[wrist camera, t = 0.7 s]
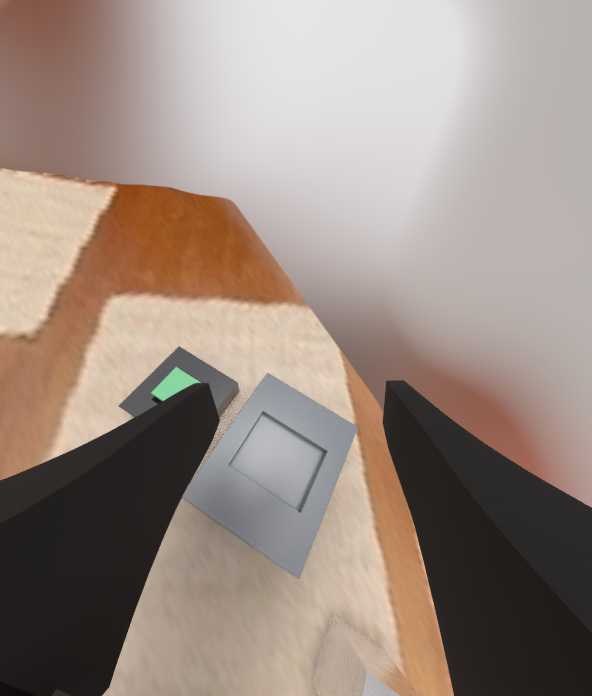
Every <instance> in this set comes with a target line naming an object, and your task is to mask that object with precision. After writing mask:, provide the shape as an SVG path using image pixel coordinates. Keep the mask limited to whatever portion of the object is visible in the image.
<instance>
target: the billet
mask: <svg viewBox="0 0 592 696" xmlns="http://www.w3.org/2000/svg"><path fill="white" fill-rule="evenodd" d="M312 680H313V684H314V687H315V690H316V693H317V696H419V695H418V693H417V692H416V691H415V689H414V688H413V687H412V685H411V684H410V683H409V682H408V680H407V679H406V678H405V676H404V675H403V674H402V672H401V671H400V670H399V669H398V667H397V666H396V665H395V663H394V662H393V661H392V659H391V658H390V657H389V656H388V654H387V653H386V652H385V650H384V649H383V648H381V647H380V646H378V645H377V644H375V643H374V642H373V641H371V640H370V639H368V638H367V637H366V636H364V635H363V634H361V633H360V632H358V631H357V630H356V629H354V628H353V627H351V626H350V625H349V624H347V623H346V622H344V621H343V620H341V619H340V618H339V617H337V616H336V615H334V614H333V613H332V616H331V619H330V622H329V625H328V629H327V632H326V635H325V638H324V642H323V645H322V648H321V651H320V654H319V658H318V661H317V664H316V667H315V671H314V674H313V677H312Z"/></svg>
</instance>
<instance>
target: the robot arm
mask: <svg viewBox="0 0 592 696" xmlns="http://www.w3.org/2000/svg"><path fill="white" fill-rule="evenodd" d="M219 421H220V418H219V415H218V412H217V409H216V405H215V402H214V399H213V396H212V392H211V389H210V386H209V383H194V384H192V385H190V386H188V387H186V388H184V389H183V390H181V391H179V392H177V393H176V394H174V395H172V396H170V397H169V398H167V399H165V400H164V401H162V402H160V403H159V404H157V405H155V406H154V407H152V408H150V409H149V410H147V411H145V412H144V413H142V414H140V415H138V416H137V417H135V418H133V419H131V420H129V421H128V422H126V423H124V424H122V425H121V426H119V427H117V428H115V429H113V430H112V431H110V432H108V433H106V434H104V435H102V436H100V437H98V438H96V439H94V440H92V441H90V442H88V443H86V444H84V445H82V446H80V447H78V448H76V449H74V450H71V451H69V452H67V453H65V454H63V455H60V456H58V457H56V458H53V459H51V460H49V461H47V462H44V463H42V464H40V465H37V466H35V467H33V468H30V469H28V470H26V471H23V472H21V473H19V474H16V475H14V476H11V477H8V478H6V479H3V480H1V481H0V696H102V695H103V694H104V693H105V691H106V690H107V689H108V688H109V686H110V683H111V680H112V677H113V674H114V670H115V667H116V664H117V661H118V658H119V655H120V653H121V650H122V647H123V644H124V641H125V638H126V635H127V632H128V629H129V626H130V623H131V620H132V617H133V615H134V612H135V609H136V607H137V604H138V601H139V599H140V596H141V593H142V591H143V588H144V585H145V582H146V580H147V577H148V574H149V572H150V569H151V567H152V565H153V562H154V560H155V557H156V555H157V552H158V550H159V547H160V545H161V542H162V540H163V538H164V535H165V533H166V531H167V528H168V526H169V524H170V521H171V519H172V517H173V515H174V512H175V510H176V508H177V506H178V504H179V502H180V500H181V498H182V496H183V494H184V492H185V490H186V489H187V487H188V485H189V483H190V481H191V479H192V478H193V476H194V474H195V472H196V470H197V469H198V467H199V465H200V463H201V461H202V459H203V457H204V456H205V454H206V452H207V450H208V448H209V446H210V444H211V442H212V440H213V437H214V435H215V432H216V430H217V427H218V424H219ZM383 425H384V430H385V435H386V440H387V444H388V448H389V451H390V454H391V457H392V460H393V463H394V466H395V469H396V472H397V475H398V478H399V481H400V483H401V486H402V489H403V492H404V495H405V498H406V501H407V504H408V507H409V509H410V512H411V516H412V519H413V522H414V526H415V529H416V533H417V537H418V541H419V545H420V549H421V553H422V557H423V561H424V565H425V569H426V573H427V577H428V581H429V585H430V590H431V594H432V598H433V602H434V606H435V611H436V615H437V619H438V624H439V628H440V633H441V637H442V642H443V646H444V651H445V655H446V659H447V664H448V668H449V673H450V678H451V683H452V687H453V692H454V696H592V508H591V507H589V506H588V505H585V504H584V503H582V502H581V501H579V500H577V499H575V498H574V497H572V496H570V495H568V494H566V493H565V492H563V491H561V490H559V489H558V488H556V487H554V486H552V485H550V484H549V483H547V482H545V481H543V480H542V479H540V478H539V477H537V476H535V475H533V474H532V473H530V472H528V471H527V470H525V469H523V468H522V467H520V466H519V465H517V464H516V463H514V462H513V461H511V460H509V459H508V458H506V457H505V456H503V455H501V454H500V453H498V452H497V451H495V450H494V449H492V448H491V447H489V446H488V445H486V444H485V443H483V442H482V441H480V440H479V439H478V438H476V437H475V436H473V435H472V434H471V433H469V432H468V431H466V430H465V429H464V428H462V427H461V426H460V425H458V424H457V423H456V422H454V421H453V420H452V419H450V418H449V417H448V416H446V415H445V414H444V413H443V412H441V411H440V410H439V409H438V408H436V407H435V406H434V405H433V404H431V403H430V402H429V401H428V400H427V399H425V398H424V397H423V396H422V395H421V394H419V393H418V392H417V391H416V390H415V389H413V388H412V387H411V386H410V385H408V384H407V383H406V382H405V381H386V392H385V403H384V415H383Z"/></svg>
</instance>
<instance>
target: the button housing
mask: <svg viewBox="0 0 592 696" xmlns="http://www.w3.org/2000/svg"><path fill="white" fill-rule="evenodd" d="M176 367H177V368H179V369H180V370H182V371H184V372H185V373H187V374H188V375H190V376H191V377H193V378H195V379H196V380H198V381H199V382H201V383H209V386H210V389H211V392H212V396H213V399H214V402H215V405H216V409H217V412H218V415H219V417H220V416H221V415H222V413H223V412H224V411H225V409H226V408H227V406H228V405H229V404H230V402H231V401H232V400H233V398H234V397H235V396H236V394H237V393H238V392H239V389H238V383H237V382H236V381H234V380H233V379H231V378H229V377H228V376H226V375H224V374H223V373H221V372H220V371H218V370H216V369H215V368H213V367H212V366H210V365H208V364H207V363H205V362H203V361H202V360H200V359H199V358H197V357H195V356H194V355H192V354H191V353H189V352H187V351H186V350H184V349H182V348H181V347H178V348H177V349H176V350H175V351H174V352H173V353H172V354H171V355H170V356H169V357H168V358H167V359H166V360H165V361H164V362H163V363H162V364H161V365H160V366H159V367H158V368H157V369H156V370H155V371H154V372H153V373H152V374H151V375H150V376H148V377H147V378H146V379H145V380H144V381H143V382H142V383H141V384H140V385H139V386H138V387H137V388H136V389H135V390H134V391H133V392H132V393H131V394H130V395H129V396H128V397H127V398H126V399H125V400H124V401H123V402H122V403H121V404H120V405H119V407H121V408H122V409H124V410H125V411H126V412H128V413H129V414H131V415H132V416H134V417H137V416H138V415H140V414H142V413H144V412H145V411H147V410H149V409H150V408H152V407H154V406H155V405H157V404H159V403H160V402H162V401H161V400H159V399H158V398H157V397H155V396H154V395H153V394H152V393H151V392H152V391H153V390H154V389H155V388H156V387H157V386H158V385H159V384H160V383H161V382H162V381H163V380H164V379H165V378H166V377H167V376H168V375H169V374H170V373H171V372H172V371H173V370H174V369H175V368H176Z"/></svg>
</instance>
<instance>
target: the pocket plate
mask: <svg viewBox="0 0 592 696" xmlns="http://www.w3.org/2000/svg"><path fill="white" fill-rule="evenodd" d="M357 428H358V427H357V426H355V425H354V424H352V423H350V422H349V421H347V420H345V419H344V418H342V417H340V416H339V415H337V414H335V413H334V412H332V411H330V410H329V409H327V408H325V407H324V406H322V405H320V404H319V403H317V402H315V401H314V400H312V399H310V398H309V397H307V396H306V395H304V394H302V393H301V392H299V391H297V390H296V389H294V388H292V387H291V386H289V385H287V384H286V383H284V382H282V381H281V380H279V379H277V378H276V377H274V376H272V375H271V374H269V373H267V374H266V375H265V377H264V378H263V380H262V381H261V383H260V384H259V385H258V387H257V388H256V390H255V391H254V393H253V394H252V395H251V397H250V398H249V400H248V401H247V403H246V404H245V405H244V407H243V408H242V410H241V411H240V413H239V414H238V416H237V417H236V418H235V420H234V421H233V423H232V424H231V426H230V427H229V428H228V430H227V431H226V433H225V434H224V436H223V437H222V438H221V440H220V441H219V443H218V444H217V446H216V447H215V448H214V450H213V451H212V453H211V454H210V456H209V457H208V459H207V460H206V461H205V463H204V464H203V466H202V467H201V469H200V470H199V471H198V473H197V474H196V476H195V477H194V479H193V480H192V481H191V483H190V484H189V486H188V487H187V489H186V490H185V492H184V494H183V496H182V498H183V499H185V500H186V501H188V502H189V503H190V504H192V505H193V506H195V507H196V508H198V509H199V510H200V511H202V512H203V513H205V514H206V515H208V516H209V517H210V518H212V519H213V520H215V521H216V522H218V523H219V524H220V525H222V526H223V527H225V528H226V529H228V530H229V531H230V532H232V533H233V534H235V535H236V536H238V537H239V538H240V539H242V540H243V541H245V542H246V543H248V544H249V545H250V546H252V547H253V548H255V549H256V550H258V551H259V552H260V553H262V554H263V555H265V556H266V557H268V558H269V559H270V560H272V561H273V562H275V563H276V564H277V565H279V566H280V567H282V568H283V569H285V570H286V571H287V572H289V573H290V574H292V575H293V576H295V577H296V578H297V579H299V578H300V575H301V573H302V570H303V568H304V565H305V562H306V560H307V557H308V555H309V552H310V550H311V547H312V544H313V542H314V539H315V537H316V534H317V531H318V529H319V526H320V524H321V521H322V519H323V516H324V513H325V511H326V508H327V506H328V503H329V501H330V498H331V495H332V493H333V490H334V488H335V485H336V482H337V480H338V477H339V475H340V472H341V470H342V467H343V464H344V462H345V459H346V457H347V454H348V452H349V449H350V446H351V444H352V441H353V439H354V436H355V433H356V431H357Z"/></svg>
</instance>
